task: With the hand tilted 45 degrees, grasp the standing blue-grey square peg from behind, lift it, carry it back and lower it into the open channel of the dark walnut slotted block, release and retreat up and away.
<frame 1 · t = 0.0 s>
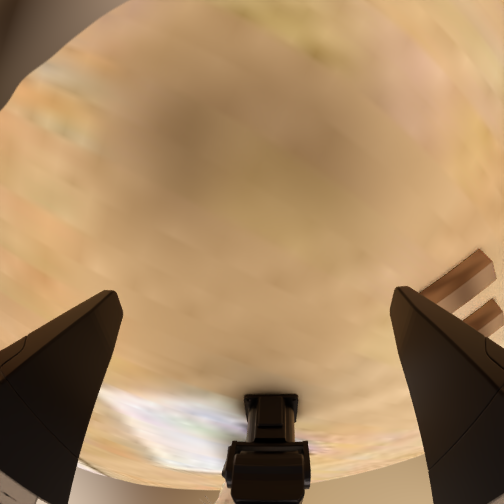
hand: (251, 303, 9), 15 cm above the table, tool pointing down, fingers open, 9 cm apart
slot block: (458, 306, 26), on the table
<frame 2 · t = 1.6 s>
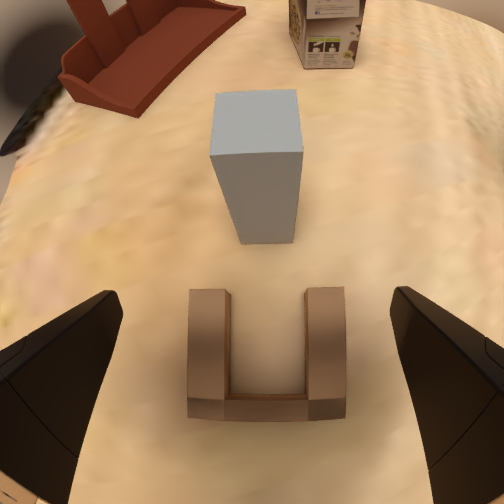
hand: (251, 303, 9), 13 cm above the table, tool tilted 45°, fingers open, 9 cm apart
hanging shelf: (162, 51, 34), on the table
coffee box: (319, 49, 31), on the table
peg: (266, 220, 24), on the table
slot block: (267, 355, 21), on the table
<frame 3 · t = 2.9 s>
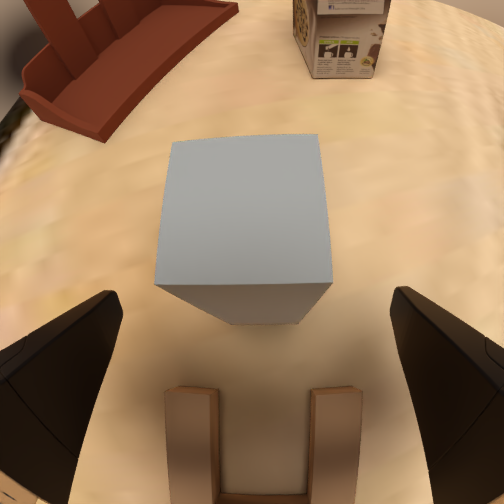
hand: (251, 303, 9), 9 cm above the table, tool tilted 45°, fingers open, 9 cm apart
hanging shelf: (139, 57, 28), on the table
coffee box: (330, 54, 25), on the table
peg: (264, 291, 19), on the table
slot block: (263, 457, 15), on the table
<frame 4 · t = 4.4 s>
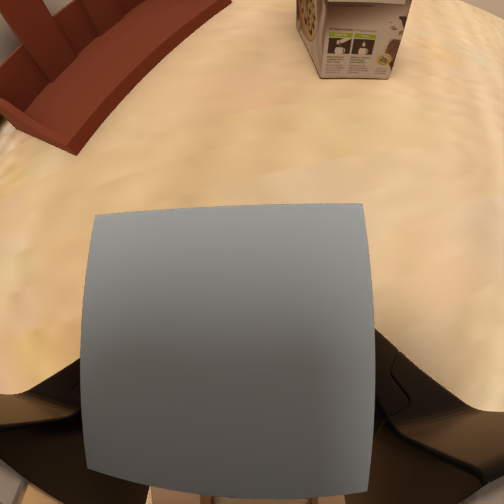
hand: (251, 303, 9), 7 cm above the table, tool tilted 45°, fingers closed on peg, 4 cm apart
hanging shelf: (120, 55, 25), on the table
coffee box: (339, 50, 22), on the table
peg: (262, 347, 15), on the table, touching gripper
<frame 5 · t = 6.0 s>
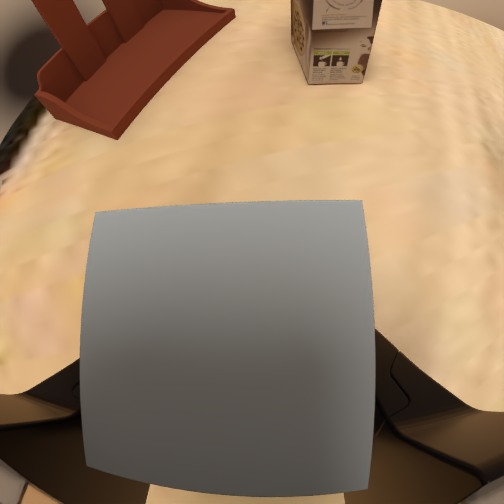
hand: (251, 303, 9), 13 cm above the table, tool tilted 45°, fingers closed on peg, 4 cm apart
hanging shelf: (145, 60, 31), on the table
coffee box: (325, 60, 29), on the table
peg: (262, 346, 15), point 6 cm above the table, touching gripper
when the fingers open (8 cm above the table, at t = 7.9 s): peg drops 2 cm, on the table.
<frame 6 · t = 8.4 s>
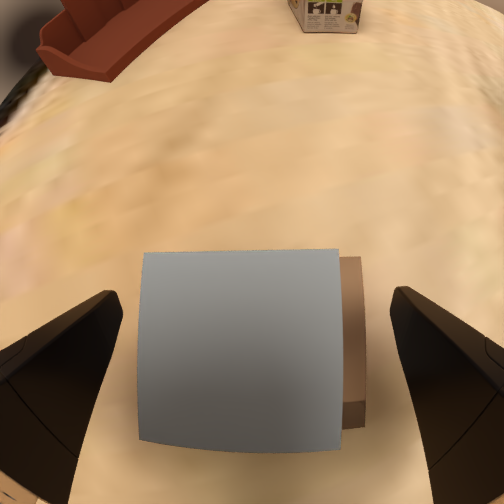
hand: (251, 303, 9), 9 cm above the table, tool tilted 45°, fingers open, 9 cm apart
hanging shelf: (142, 22, 30), on the table
coffee box: (320, 16, 27), on the table
peg: (263, 346, 17), on the table
slot block: (263, 346, 17), on the table
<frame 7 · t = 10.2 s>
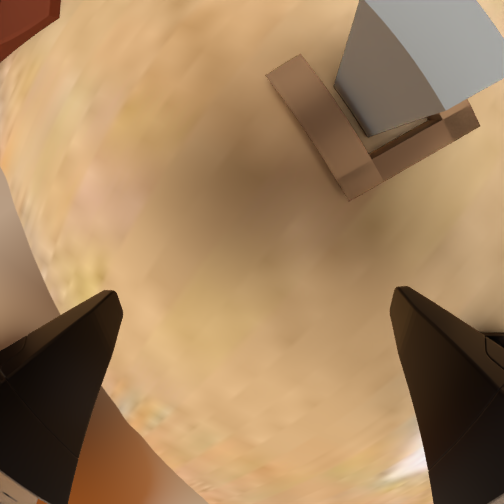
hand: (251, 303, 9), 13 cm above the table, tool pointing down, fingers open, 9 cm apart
peg: (375, 97, 17), on the table, tilted 5°
slot block: (374, 98, 17), on the table
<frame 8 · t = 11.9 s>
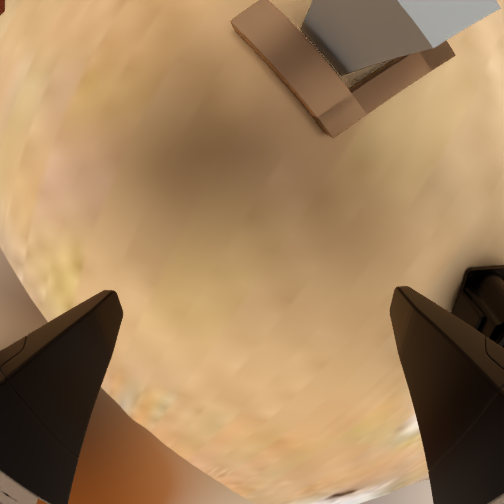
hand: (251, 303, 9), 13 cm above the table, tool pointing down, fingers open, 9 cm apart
peg: (344, 36, 15), on the table
slot block: (344, 36, 15), on the table
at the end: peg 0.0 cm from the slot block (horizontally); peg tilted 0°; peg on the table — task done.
